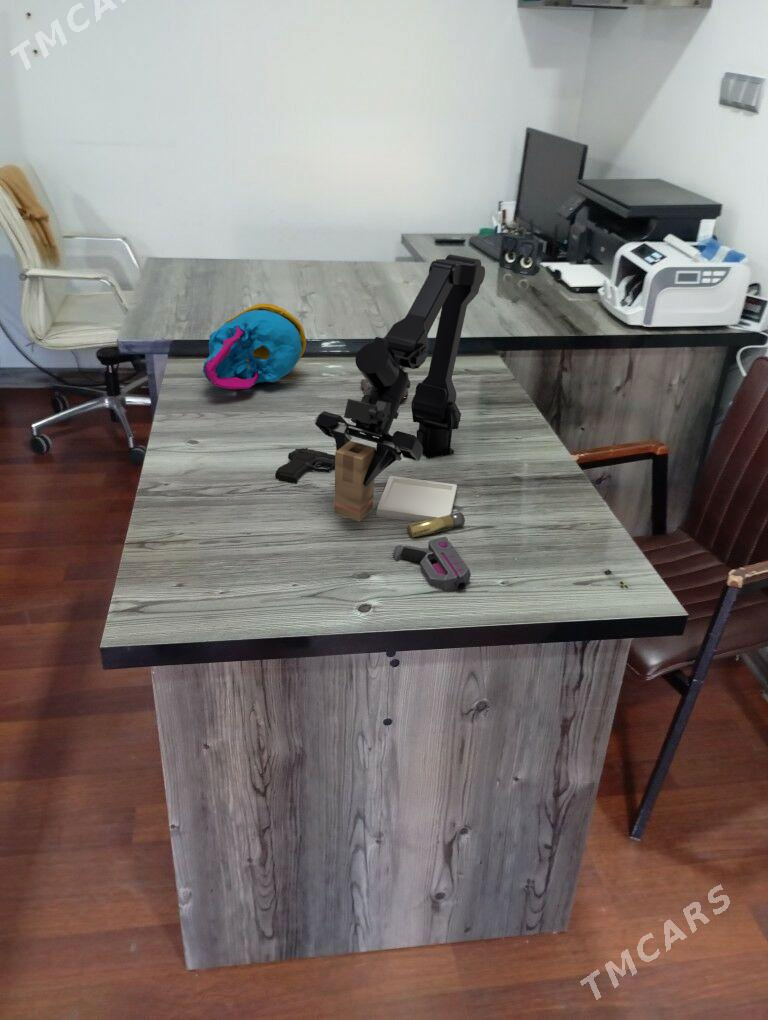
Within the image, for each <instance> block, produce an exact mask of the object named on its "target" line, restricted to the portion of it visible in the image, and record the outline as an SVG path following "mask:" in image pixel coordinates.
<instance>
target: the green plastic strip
mask: <svg viewBox="0 0 768 1020" xmlns="http://www.w3.org/2000/svg"><path fill="white" fill-rule="evenodd" d="M603 573H604V574H605V575H607V576H611V575H613V576H612V577H611V579H612V580H614V578H615V577H614V576H615V574H613V573H612V571H611V570H610V569H608V570H604V571H603ZM619 584H620V586H619V587H620V588H622V589H629V586H627V584H626V583H624V582H623V581H619Z"/></svg>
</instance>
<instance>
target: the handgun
mask: <svg viewBox="0 0 768 1020" xmlns="http://www.w3.org/2000/svg"><path fill="white" fill-rule="evenodd" d="M287 459H288V462H287V463H285V464H283V465H281V466H279V467H278V468H277V469H276V471H275V475H274V479H275V480H278V482H284V483H289V484H295V485H297V484H298V480H299V479H300V478H301V477H302V476H303V475H304V474H305V473H307V472H308V473H309V472H316V473H330V472H331V471H333V470H335V454H331V453H328V452H325V451H320V450H314V449H309V448H308V447H306V448H304V447H302V448H295V450H292V451H290V452H289V453H288V454H287ZM321 466H322V467H323V466H324V467H323V468H322V467H321ZM319 467H321V468H319ZM328 467H329V468H328Z"/></svg>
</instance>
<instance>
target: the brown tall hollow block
mask: <svg viewBox="0 0 768 1020" xmlns="http://www.w3.org/2000/svg"><path fill="white" fill-rule="evenodd" d="M375 453H376V447H374V446H370V445H367V444H364V443H359V442H357V441H353V440H351V441H349V442H348V443H346V444H345V445H344V446H343V447H341V448H340V449H339V450H337V451H335V452H334V455H335V469H334V501H333V506H334V507H333V511H334V512H333V513H334V514H335V515H338V516H342V517H345V518H347V519H348V518H349V519H351V520H354V521H358V522H360V521H361V520H363V518H365V517H366V516H367V515H368V514H369V513H370V512H372V510H374V501H375V497H374V495H375V479H374V480H373V481H372V482H371V483H370V484H369V485H368V486H364V485H363V482H364V479H365V476H366V474H367V471H368V469H369V467H370V465H371V463H372V460H373V458H374V456H375Z"/></svg>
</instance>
